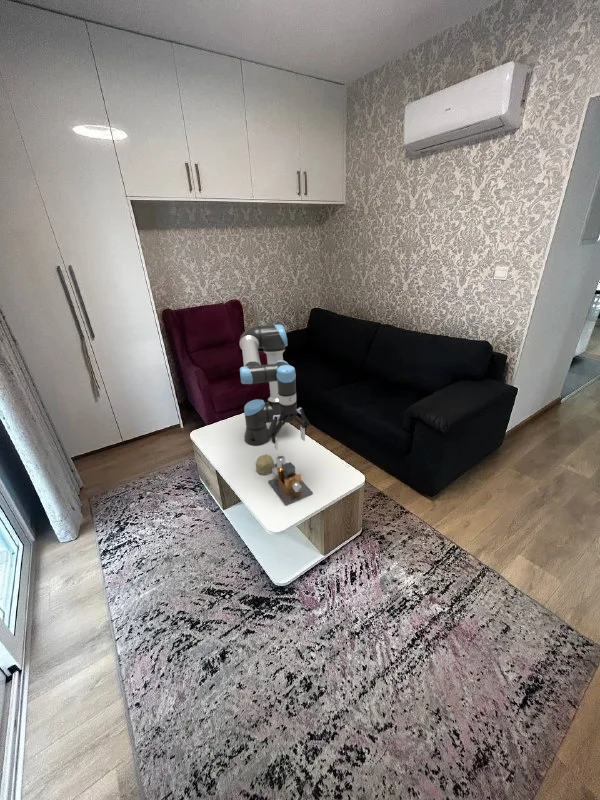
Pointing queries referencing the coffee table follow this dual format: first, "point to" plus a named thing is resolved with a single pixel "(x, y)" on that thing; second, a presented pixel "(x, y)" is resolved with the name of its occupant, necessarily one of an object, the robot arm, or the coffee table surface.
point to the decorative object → (264, 464)
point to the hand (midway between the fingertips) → (289, 443)
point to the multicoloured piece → (288, 484)
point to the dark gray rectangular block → (288, 470)
